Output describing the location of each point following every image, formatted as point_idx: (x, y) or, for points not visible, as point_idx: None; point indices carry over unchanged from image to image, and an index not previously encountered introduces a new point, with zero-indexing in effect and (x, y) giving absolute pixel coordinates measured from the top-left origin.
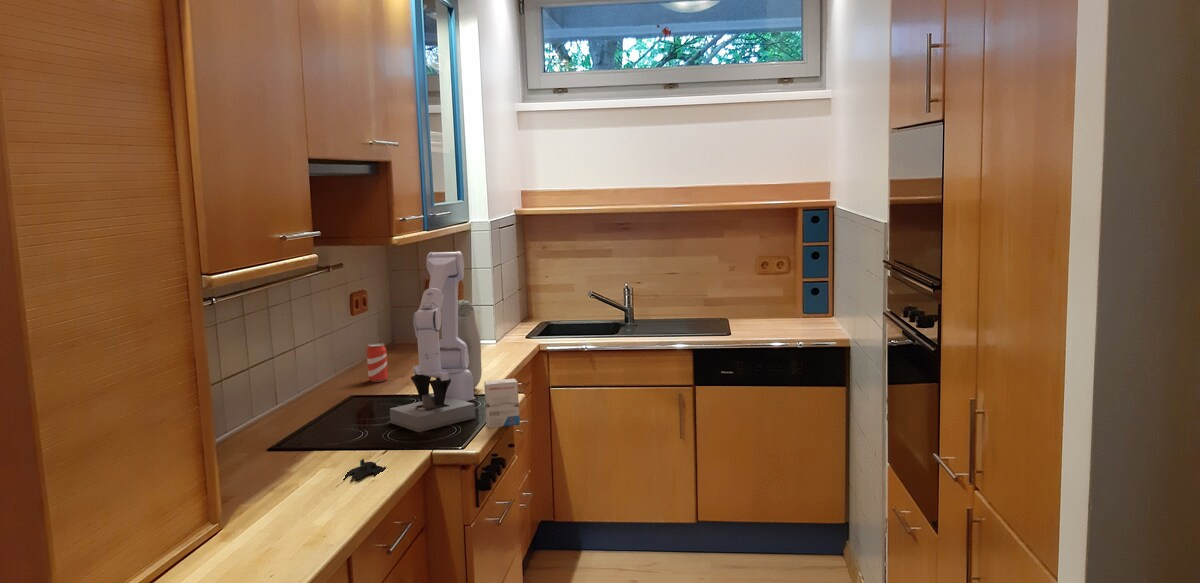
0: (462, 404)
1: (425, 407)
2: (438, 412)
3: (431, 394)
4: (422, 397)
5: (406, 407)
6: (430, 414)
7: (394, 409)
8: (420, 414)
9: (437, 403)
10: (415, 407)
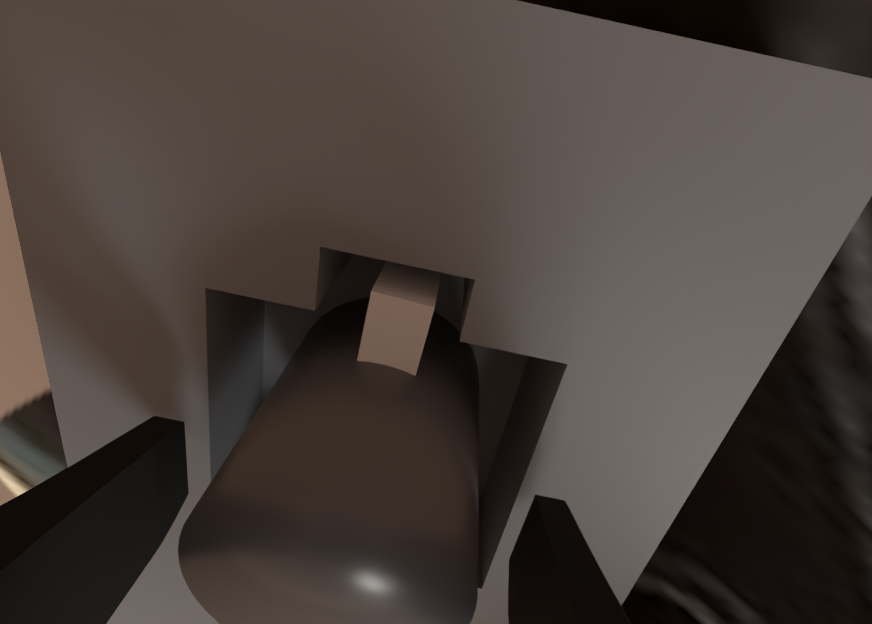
0: (159, 590)
1: (348, 368)
2: (30, 288)
3: (371, 617)
4: (384, 480)
5: (647, 282)
6: (3, 159)
7: (785, 85)
8: (94, 65)
9: (124, 437)
10: (513, 338)
